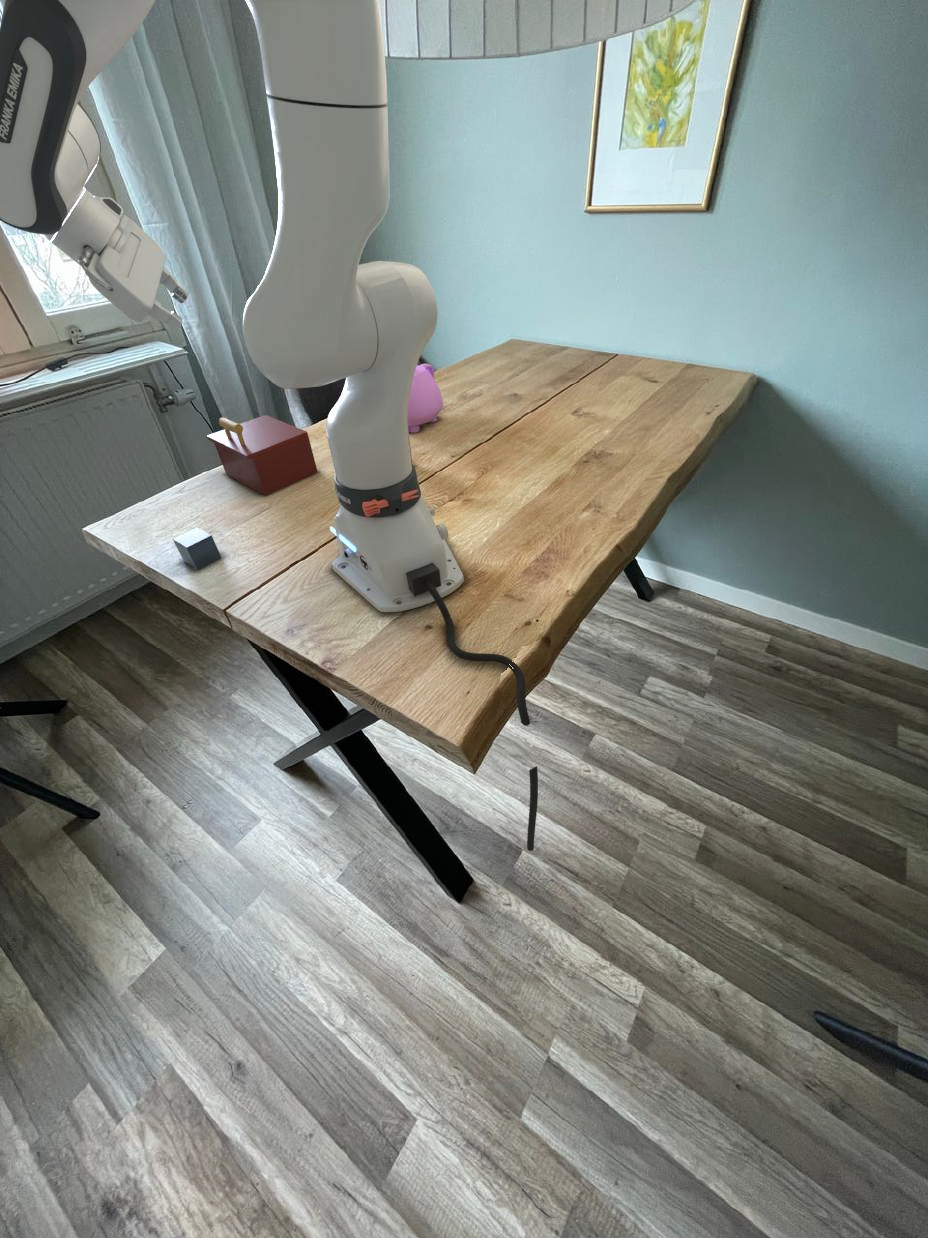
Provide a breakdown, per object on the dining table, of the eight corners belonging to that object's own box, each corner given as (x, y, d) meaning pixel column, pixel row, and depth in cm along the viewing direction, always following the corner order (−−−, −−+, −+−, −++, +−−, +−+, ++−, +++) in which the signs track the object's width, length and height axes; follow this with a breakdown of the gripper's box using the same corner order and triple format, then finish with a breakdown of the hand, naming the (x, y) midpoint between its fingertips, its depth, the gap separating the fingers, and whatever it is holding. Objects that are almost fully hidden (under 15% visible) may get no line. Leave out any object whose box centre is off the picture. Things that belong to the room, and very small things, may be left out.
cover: (247, 459, 97) (239, 434, 93) (207, 439, 105) (198, 415, 102) (308, 435, 104) (302, 411, 100) (266, 418, 112) (259, 395, 109)
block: (221, 557, 87) (211, 535, 84) (197, 570, 85) (186, 547, 82) (207, 548, 89) (197, 526, 86) (183, 561, 87) (172, 539, 84)
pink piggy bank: (404, 447, 116) (395, 382, 107) (354, 434, 123) (342, 372, 114) (462, 413, 129) (458, 353, 119) (413, 403, 136) (406, 345, 127)
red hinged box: (265, 496, 102) (252, 458, 97) (226, 474, 111) (212, 438, 105) (317, 472, 109) (308, 435, 104) (277, 453, 117) (266, 418, 112)
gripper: (88, 246, 68) (189, 329, 78) (114, 193, 80) (199, 271, 90) (63, 281, 70) (164, 357, 81) (92, 225, 82) (177, 297, 92)
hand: (182, 311), depth 85 cm, fingers open, 8 cm apart
